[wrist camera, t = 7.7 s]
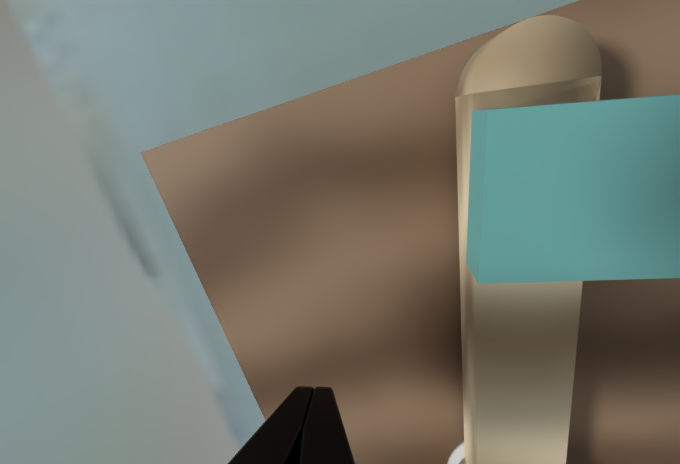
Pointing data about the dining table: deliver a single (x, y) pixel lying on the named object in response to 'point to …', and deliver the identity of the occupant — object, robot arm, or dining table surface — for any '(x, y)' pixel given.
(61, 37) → the dining table surface
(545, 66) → the link
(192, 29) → the dining table surface
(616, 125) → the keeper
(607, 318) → the base board
